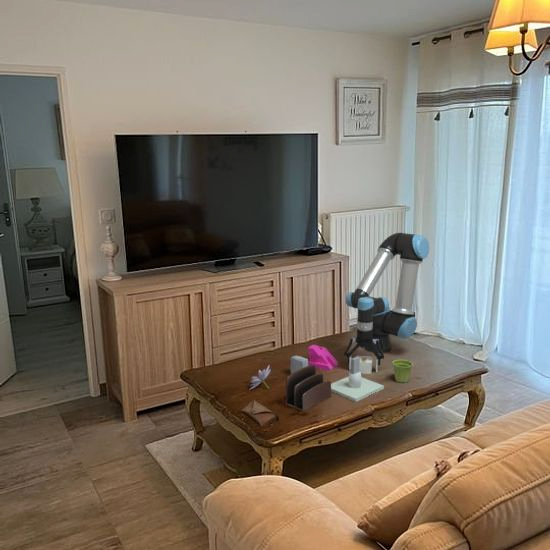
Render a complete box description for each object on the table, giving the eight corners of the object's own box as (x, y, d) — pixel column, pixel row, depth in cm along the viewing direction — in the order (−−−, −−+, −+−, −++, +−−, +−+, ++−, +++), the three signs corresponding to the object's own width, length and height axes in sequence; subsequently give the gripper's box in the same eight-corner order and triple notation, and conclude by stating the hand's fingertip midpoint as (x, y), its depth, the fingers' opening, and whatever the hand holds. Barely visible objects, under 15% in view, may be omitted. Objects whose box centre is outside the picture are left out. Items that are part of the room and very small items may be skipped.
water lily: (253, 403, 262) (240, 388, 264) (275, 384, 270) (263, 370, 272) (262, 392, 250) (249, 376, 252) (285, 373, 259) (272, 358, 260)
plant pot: (398, 374, 276) (399, 358, 274) (415, 380, 269) (416, 363, 267) (387, 380, 269) (388, 363, 267) (404, 386, 263) (405, 368, 261)
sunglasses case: (238, 410, 239) (244, 395, 240) (250, 414, 244) (256, 399, 244) (262, 427, 225) (269, 411, 226) (274, 430, 230) (281, 415, 230)
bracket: (308, 367, 286) (308, 347, 284) (316, 360, 295) (316, 341, 293) (330, 371, 281) (330, 351, 278) (337, 364, 290) (338, 345, 287)
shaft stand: (353, 377, 273) (354, 347, 269) (383, 388, 260) (385, 358, 256) (325, 389, 260) (325, 358, 256) (355, 402, 247) (356, 369, 243)
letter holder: (285, 405, 245) (285, 374, 241) (314, 390, 259) (314, 361, 256) (303, 412, 238) (303, 381, 235) (331, 397, 252) (332, 367, 249)
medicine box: (308, 375, 275) (308, 359, 273) (302, 378, 272) (302, 361, 270) (296, 371, 280) (296, 355, 278) (290, 374, 277) (290, 357, 275)
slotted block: (356, 366, 285) (356, 354, 284) (372, 368, 284) (372, 355, 282) (354, 372, 278) (355, 360, 276) (371, 374, 276) (371, 361, 275)
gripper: (338, 329, 275) (337, 371, 280) (390, 333, 270) (388, 375, 275) (340, 325, 282) (339, 365, 287) (390, 328, 277) (388, 369, 282)
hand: (363, 370), depth 281 cm, fingers open, 12 cm apart
